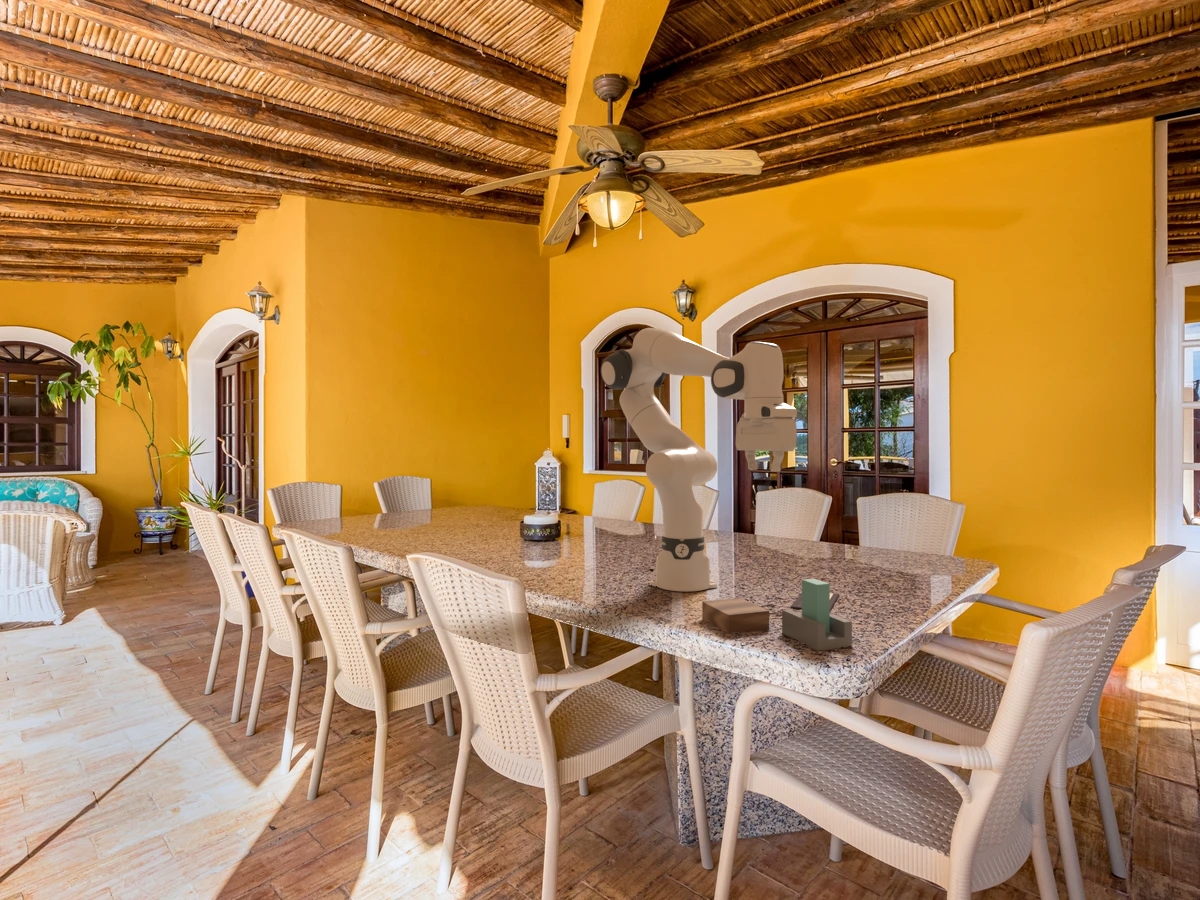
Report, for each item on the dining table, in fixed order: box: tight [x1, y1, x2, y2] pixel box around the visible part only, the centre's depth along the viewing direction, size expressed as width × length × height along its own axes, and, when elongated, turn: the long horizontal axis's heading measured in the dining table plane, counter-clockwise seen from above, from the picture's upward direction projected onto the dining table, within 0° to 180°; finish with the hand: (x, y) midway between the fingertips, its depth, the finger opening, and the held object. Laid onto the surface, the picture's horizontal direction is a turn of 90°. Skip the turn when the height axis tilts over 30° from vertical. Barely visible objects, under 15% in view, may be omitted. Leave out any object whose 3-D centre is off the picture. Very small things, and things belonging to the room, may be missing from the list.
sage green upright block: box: [801, 578, 831, 633], centre depth 131 cm, size 5×3×10 cm, turn 18°
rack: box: [781, 608, 853, 652], centre depth 131 cm, size 12×8×5 cm, turn 18°
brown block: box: [701, 597, 770, 635], centre depth 142 cm, size 12×10×4 cm
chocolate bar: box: [790, 592, 840, 612], centre depth 161 cm, size 9×1×18 cm
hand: (763, 470), depth 148 cm, fingers open, 8 cm apart
